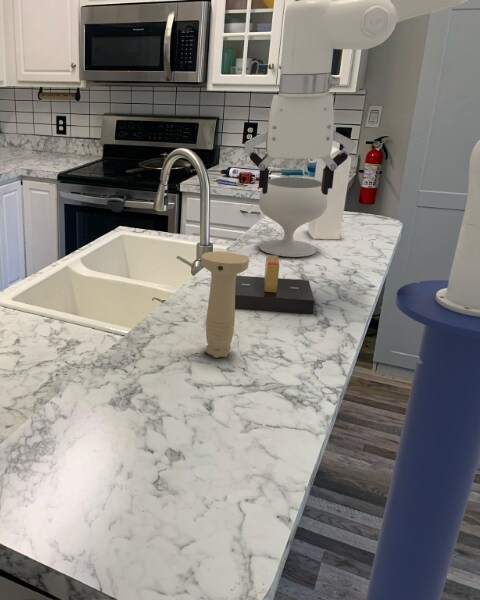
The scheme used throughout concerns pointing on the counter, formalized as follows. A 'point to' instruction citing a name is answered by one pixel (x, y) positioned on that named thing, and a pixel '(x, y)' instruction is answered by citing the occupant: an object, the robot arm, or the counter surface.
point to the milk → (331, 199)
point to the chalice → (291, 212)
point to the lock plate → (274, 295)
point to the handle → (222, 299)
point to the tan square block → (271, 273)
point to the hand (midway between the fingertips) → (294, 192)
